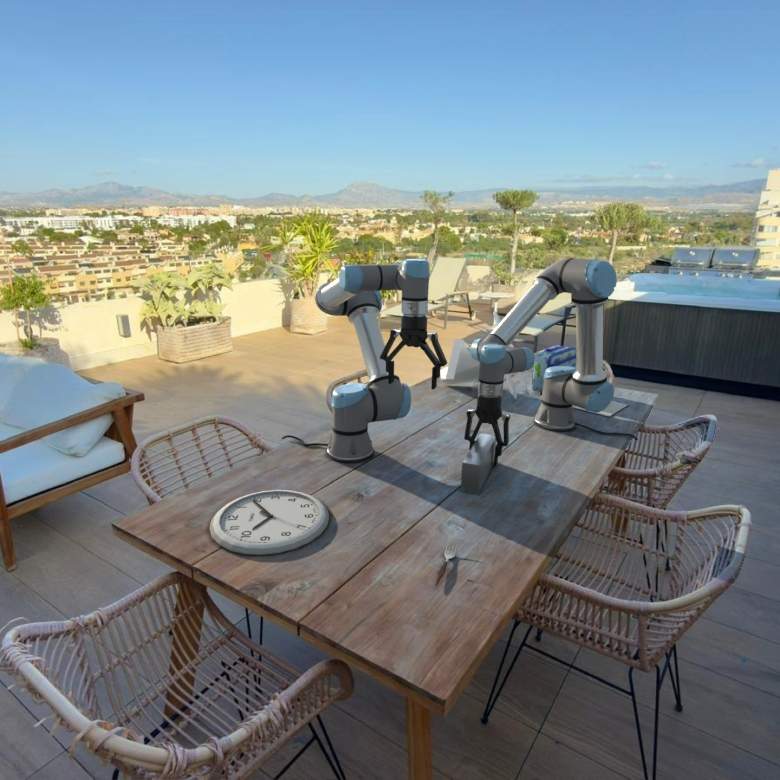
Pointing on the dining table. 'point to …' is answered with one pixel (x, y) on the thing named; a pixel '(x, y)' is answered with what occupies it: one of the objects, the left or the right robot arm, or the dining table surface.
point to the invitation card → (608, 408)
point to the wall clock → (269, 522)
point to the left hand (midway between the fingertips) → (412, 385)
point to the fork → (448, 555)
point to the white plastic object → (472, 366)
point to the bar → (478, 463)
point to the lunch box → (551, 363)
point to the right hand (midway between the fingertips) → (484, 462)
